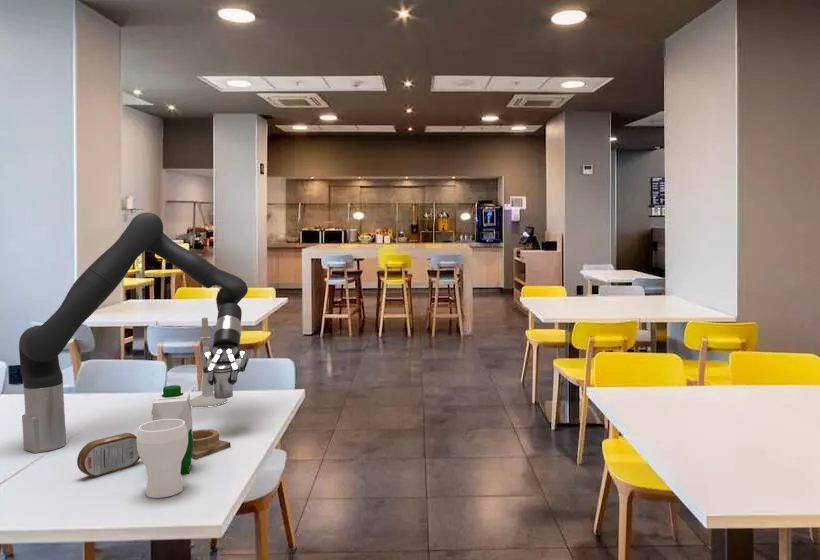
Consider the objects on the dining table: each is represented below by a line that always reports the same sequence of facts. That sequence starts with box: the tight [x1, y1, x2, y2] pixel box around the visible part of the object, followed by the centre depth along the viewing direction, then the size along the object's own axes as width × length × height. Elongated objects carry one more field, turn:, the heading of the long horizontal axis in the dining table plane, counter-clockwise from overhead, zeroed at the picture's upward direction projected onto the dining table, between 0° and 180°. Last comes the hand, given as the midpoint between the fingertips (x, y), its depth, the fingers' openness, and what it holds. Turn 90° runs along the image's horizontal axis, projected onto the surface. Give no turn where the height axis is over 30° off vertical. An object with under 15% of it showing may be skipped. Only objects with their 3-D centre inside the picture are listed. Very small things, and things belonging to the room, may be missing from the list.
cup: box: [136, 419, 188, 499], centre depth 135 cm, size 11×11×15 cm
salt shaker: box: [213, 363, 234, 399], centre depth 173 cm, size 5×5×9 cm
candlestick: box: [190, 317, 228, 408], centre depth 210 cm, size 13×13×30 cm
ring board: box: [191, 428, 232, 460], centre depth 163 cm, size 11×11×4 cm
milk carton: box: [151, 384, 193, 475], centre depth 148 cm, size 9×9×20 cm
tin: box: [76, 432, 141, 478], centre depth 148 cm, size 15×3×8 cm, turn 141°
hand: (222, 383), depth 171 cm, fingers closed on salt shaker, 5 cm apart
